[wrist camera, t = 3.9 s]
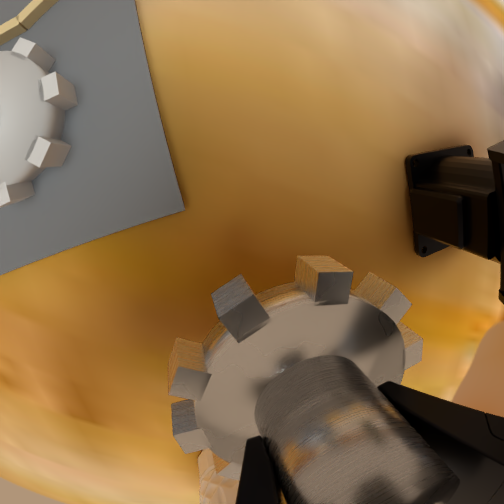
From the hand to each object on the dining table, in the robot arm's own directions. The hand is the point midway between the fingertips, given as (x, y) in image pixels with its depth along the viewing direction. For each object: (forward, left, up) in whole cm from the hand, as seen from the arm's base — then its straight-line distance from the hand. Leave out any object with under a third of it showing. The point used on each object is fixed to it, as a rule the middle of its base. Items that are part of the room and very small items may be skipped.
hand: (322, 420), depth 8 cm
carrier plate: (+9, -17, -10) cm, 21 cm away
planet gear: (0, 0, -2) cm, 2 cm away
